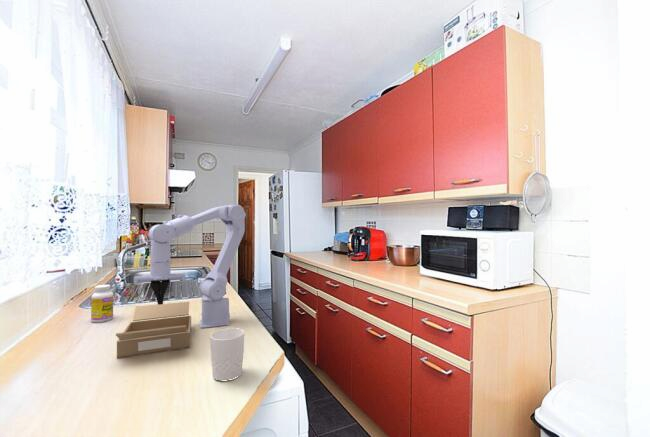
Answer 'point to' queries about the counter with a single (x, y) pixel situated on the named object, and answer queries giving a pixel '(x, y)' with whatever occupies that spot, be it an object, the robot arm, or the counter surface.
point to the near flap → (151, 332)
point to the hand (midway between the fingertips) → (160, 303)
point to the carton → (155, 337)
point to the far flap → (161, 311)
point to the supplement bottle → (102, 304)
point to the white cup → (227, 353)
